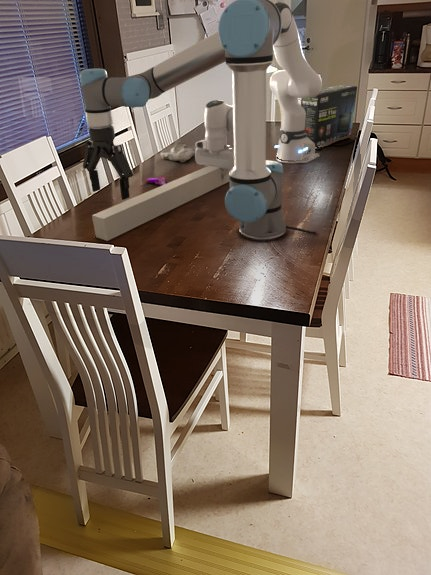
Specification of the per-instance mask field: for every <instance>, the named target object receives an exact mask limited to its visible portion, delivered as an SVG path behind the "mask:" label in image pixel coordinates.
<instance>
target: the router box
mask: <svg viewBox="0 0 431 575" xmlns="http://www.w3.org/2000/svg"><path fill="white" fill-rule="evenodd" d="M357 93H358V86H356V85H350V84H339V85H338V84H337V85H334V86H328V87H324V88H321V91H320V92H319V94H318V95H317V96H316V97H313V98H306V99H304V98H300V105H301V106H302V107H303V108H304V110H305V112H306V119H305V129H307V128H308V129H310V130H311V132H310V133H307V137H308V138H309V139H310V140H311V141H312V142H316V145H317V146H320V145H323V144H325V143H328V142H331V141H333V140H336V139H338V138H341V137H344V136H347V135H351V136H352V133H353V132H352V131H353V125H354V115H355V109H356V99H357Z"/></svg>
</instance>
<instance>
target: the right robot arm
mask: <svg viewBox="0 0 431 575" xmlns="http://www.w3.org/2000/svg"><path fill="white" fill-rule="evenodd" d="M272 2H273V3H274V4H275V5H276V6H277V8H278V9H279V11H280V14H281V17H282V30H281V33H280V36H279V38H278V40H277V41H276V43H275V44H274V45H273V53H274V57H275V61H276V63H277V65H278V66H279V67H281V68H282V69H281V70H276V71H274V72H273V73H272V75H271V76H270V79H269V89H270V91H271V93H272V94H273V95H274V96H275V98H276V99H277V103H278V105H279V109H280V129H279V140H278V144H277V145H274V149H276V148H277V153H276V154H277V155H276V154H275V159H276V160H275V161H276V162H279V163H284V164H308V163H309V162H312V161H313V160H316V159H318V158H319V157H321V154H320V155H318V156H316V157H314V158H312V159H310V160H308V161H296V160H302V159H304V158H306V157H308V156H310V155H312V154H313V153H315V152H316V150H315V147H317V148H319V147H318V146H317V145H316V142H312V141H311V140H310V139H309V138H308V137H307V133H310V132H311V130H310V129H308V128H307V129H305V119H306V112H305V110H304V108H303V107H302V106H301V103H300V102H299V99H301V98H304V99H306V98H313V97H316V96H317V95H318V94H319V92H320V91H321V89H323V88H322V87H323V80H322V77H321V75H320V74H318V73H317V72H316V71H315V70H314V69H313V68H312V67H311V66H310V64H309V62H308V61H307V59H306V57H305V54H304V52H303V48H302V43H301V40H300V39H301V38H300V35H299V30H298V26H297V23H296V20H295V17H294V14H293V13H292V9H291V7H290V6H289V5H288V4H287V3H285V2H281V1H276V2H275V1H272ZM203 119H204V122H203V123H204V128H205V133H204V139H200V140H198V141H196V142H195V143H194V144H195V145H194V147H196V150H195V154H194V162H195V163H196V164H197V165H200V166H204V167H207V166H215V167H220V168H222V169H223V171H225V172H224V174H222V179H226V178H227V173H228V172H229V170H231V169H232V168H233V167H234V145H228V134H227V133H228V132H229V133H231V134H232V133H233V134H234V129H233V105H230V104H227V103H226V102H225V100H223V99H214V100H211V101H209V102H207V103H206V104H205V107H204V118H203ZM355 137H356V139H355V140H358V141H359V138H358V137H357V136H355ZM319 149H320V148H319ZM277 157H278V158H279V159H282V160H294V161H296V162H288V161H281V160H279V159H277Z"/></svg>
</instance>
